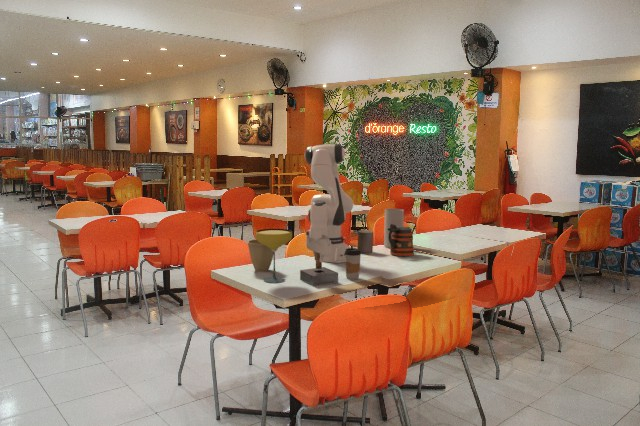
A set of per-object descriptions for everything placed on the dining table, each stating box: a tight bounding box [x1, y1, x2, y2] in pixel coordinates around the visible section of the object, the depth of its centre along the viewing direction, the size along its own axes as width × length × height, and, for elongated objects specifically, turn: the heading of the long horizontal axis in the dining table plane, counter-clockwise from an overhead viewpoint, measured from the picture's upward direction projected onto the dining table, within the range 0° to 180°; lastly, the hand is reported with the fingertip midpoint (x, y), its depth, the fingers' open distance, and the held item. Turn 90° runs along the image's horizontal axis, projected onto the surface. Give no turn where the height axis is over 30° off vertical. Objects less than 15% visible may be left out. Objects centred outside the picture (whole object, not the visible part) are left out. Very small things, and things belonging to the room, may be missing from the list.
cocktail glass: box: [255, 228, 293, 284], centre depth 266 cm, size 18×18×25 cm
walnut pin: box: [315, 252, 323, 269], centre depth 265 cm, size 3×3×10 cm
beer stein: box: [388, 224, 415, 257], centre depth 329 cm, size 19×15×20 cm
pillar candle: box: [357, 229, 374, 255], centre depth 336 cm, size 10×10×15 cm
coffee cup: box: [344, 247, 362, 281], centre depth 271 cm, size 8×8×15 cm
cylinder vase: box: [383, 208, 405, 249], centre depth 354 cm, size 12×12×25 cm
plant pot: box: [247, 238, 274, 273], centre depth 288 cm, size 15×15×16 cm
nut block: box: [299, 266, 339, 287], centre depth 266 cm, size 14×14×5 cm
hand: (318, 261), depth 265 cm, fingers closed on walnut pin, 3 cm apart
